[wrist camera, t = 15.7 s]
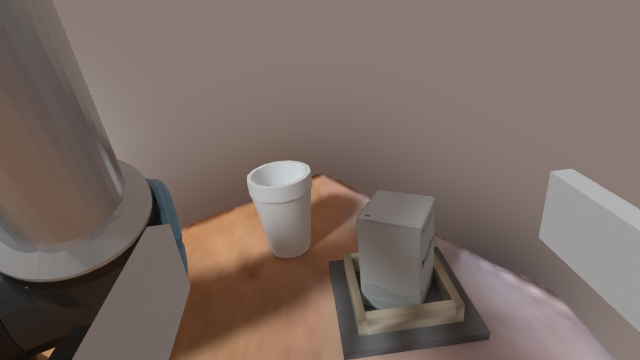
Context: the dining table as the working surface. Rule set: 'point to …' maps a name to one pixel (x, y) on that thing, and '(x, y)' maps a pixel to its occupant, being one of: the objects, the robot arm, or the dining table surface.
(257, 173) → the foam cup
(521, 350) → the dining table surface
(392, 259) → the supplement box
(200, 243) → the dining table surface
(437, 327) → the keeper cradle
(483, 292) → the dining table surface
